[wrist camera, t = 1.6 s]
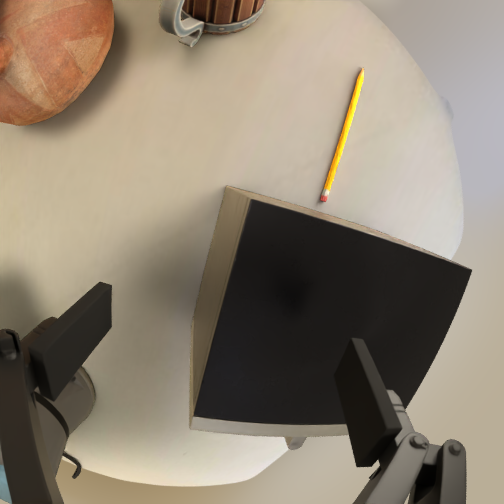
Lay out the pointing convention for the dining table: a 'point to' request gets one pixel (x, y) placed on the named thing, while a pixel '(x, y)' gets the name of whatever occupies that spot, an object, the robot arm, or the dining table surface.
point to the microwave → (311, 311)
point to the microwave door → (291, 432)
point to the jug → (49, 54)
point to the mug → (207, 17)
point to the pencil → (343, 137)
